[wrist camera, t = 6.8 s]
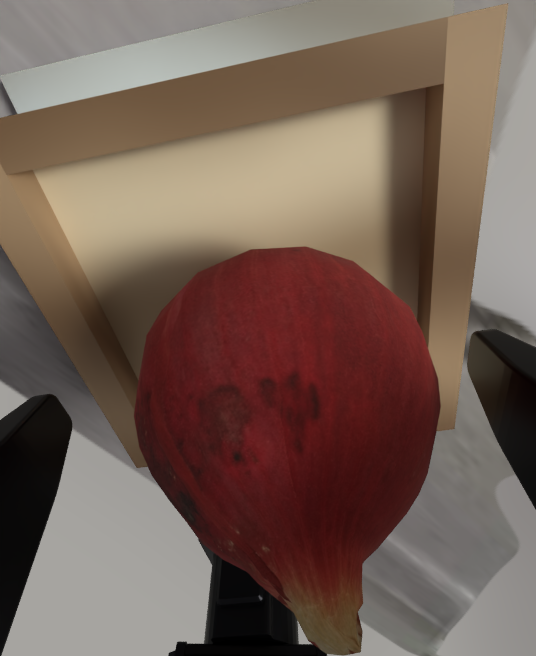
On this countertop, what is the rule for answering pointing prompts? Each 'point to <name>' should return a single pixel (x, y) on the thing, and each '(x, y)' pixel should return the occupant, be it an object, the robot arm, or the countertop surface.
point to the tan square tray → (252, 171)
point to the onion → (290, 423)
